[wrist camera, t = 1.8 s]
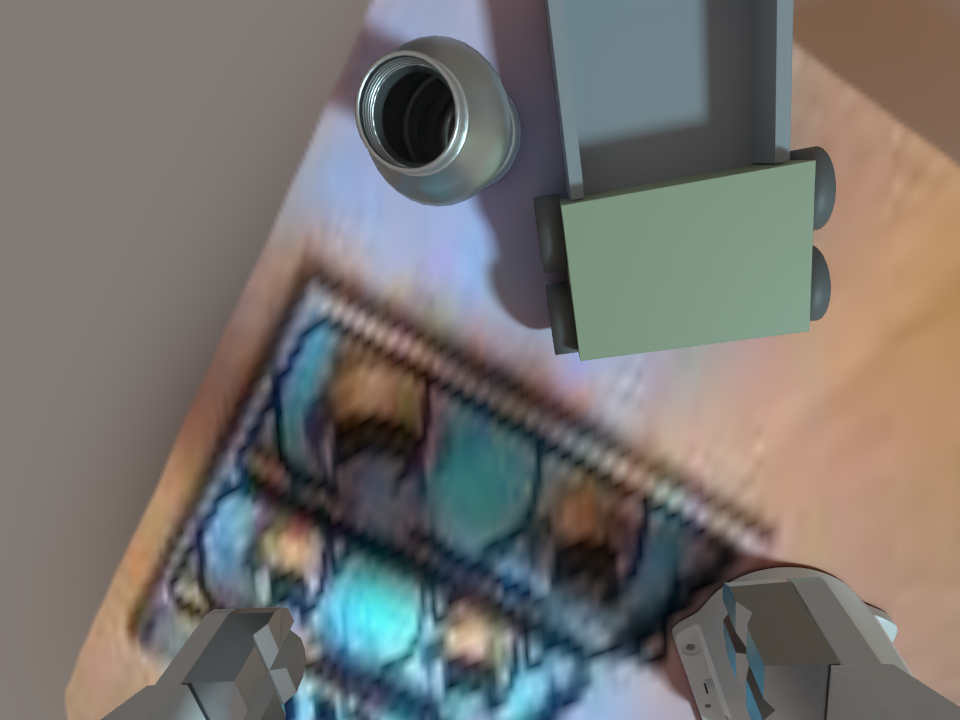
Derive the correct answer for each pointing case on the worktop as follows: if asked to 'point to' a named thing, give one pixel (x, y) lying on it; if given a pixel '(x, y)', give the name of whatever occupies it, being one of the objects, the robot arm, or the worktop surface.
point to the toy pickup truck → (679, 178)
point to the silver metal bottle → (437, 121)
